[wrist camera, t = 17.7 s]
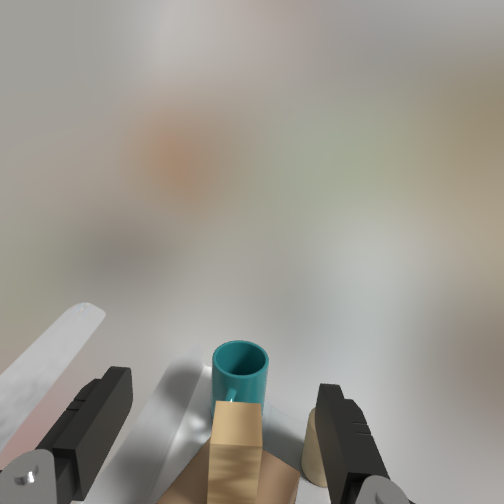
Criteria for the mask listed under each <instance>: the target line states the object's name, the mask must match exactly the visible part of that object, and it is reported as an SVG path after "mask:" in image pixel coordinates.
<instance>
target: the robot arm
mask: <svg viewBox="0 0 504 504" xmlns="http://www.w3.org/2000/svg"><path fill="white" fill-rule="evenodd" d="M132 401H133V390H132V376H131V369H130V368H127V367H114V366H111V367H110V368H109V369H108V370H107V372H106V373H105V374H104V376H103V377H102V379H94V380H93V381H91V382H90V383H88V384H87V385H86V386H84V387H83V388H82V389H81V390H80V392H79V393H78V394H77V396H76V397H75V398H74V400H73V401H72V402H71V403H70V405H69V406H68V407H67V408H66V411H64V412H63V414H62V415H61V417H59V419H58V420H57V421H56V423H55V424H54V425H53V427H52V428H51V429H50V430H49V432H48V433H47V434H46V436H45V437H44V438H43V440H42V441H41V442H40V443H39V445H38V446H37V447H36V448H35V449H34V450H32V451H29V452H26V453H24V454H22V455H20V456H19V457H17V458H16V459H14V460H13V461H12V462H11V463H9V464H8V466H6V467H5V468H4V469H3V470H0V504H70V503H71V501H72V500H74V501H84V500H85V498H86V496H87V494H88V492H89V490H90V488H91V486H92V484H93V482H94V480H95V478H96V476H97V474H98V472H99V470H100V468H101V466H102V465H103V463H104V460H105V459H106V457H107V455H108V453H109V451H110V449H111V447H112V445H113V443H114V441H115V439H116V437H117V435H118V433H119V431H120V429H121V427H122V426H123V424H124V422H125V420H126V418H127V416H128V414H129V412H130V409H131V406H132ZM315 429H316V434H317V438H318V443H319V448H320V453H321V457H322V462H323V467H324V472H325V477H326V481H327V486H328V491H329V496H330V500H331V504H415V503H413V502H412V501H410V500H409V499H407V497H406V495H405V494H404V492H403V491H402V490H401V489H400V488H399V487H398V486H397V485H396V484H395V483H394V482H392V481H391V480H390V478H389V476H388V474H387V471H386V468H385V466H384V463H383V461H382V458H381V456H380V454H379V451H378V449H377V446H376V444H375V441H374V439H373V436H371V432H370V429H369V427H368V425H367V422H366V420H365V417H364V415H363V412H362V410H361V409H360V408H359V407H358V406H357V404H356V403H355V402H354V401H353V400H351V399H344V396H343V393H342V390H341V388H340V386H339V385H335V384H320V387H319V392H318V397H317V403H316V408H315Z"/></svg>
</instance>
